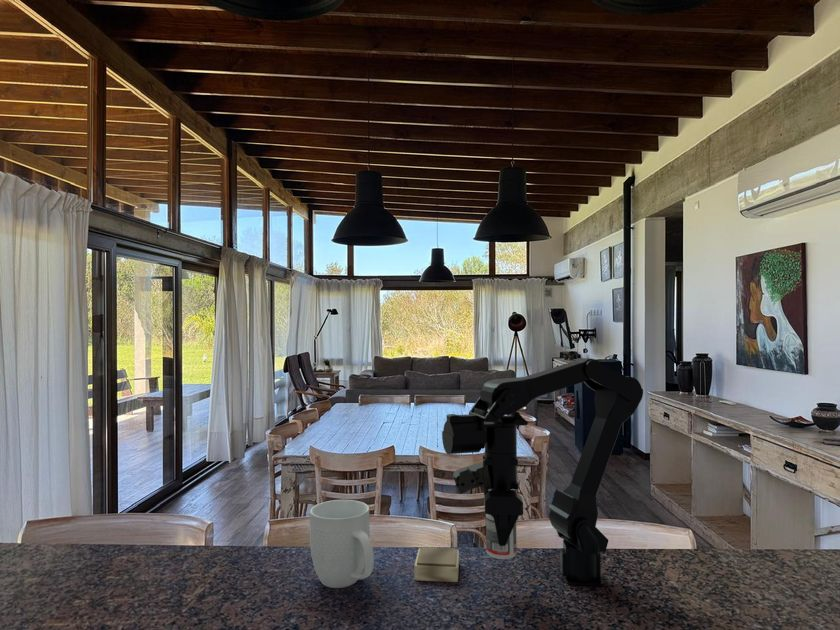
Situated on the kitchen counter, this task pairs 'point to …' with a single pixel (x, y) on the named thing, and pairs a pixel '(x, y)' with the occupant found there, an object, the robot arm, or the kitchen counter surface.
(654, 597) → the kitchen counter surface
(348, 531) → the mug
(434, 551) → the plinth
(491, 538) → the pill bottle
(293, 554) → the kitchen counter surface
